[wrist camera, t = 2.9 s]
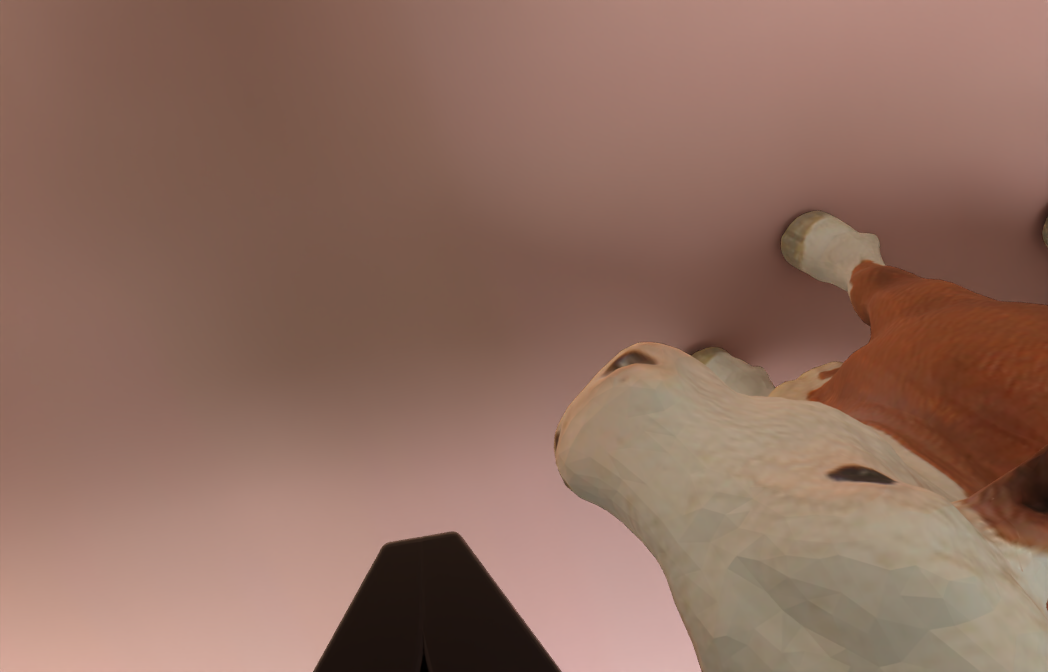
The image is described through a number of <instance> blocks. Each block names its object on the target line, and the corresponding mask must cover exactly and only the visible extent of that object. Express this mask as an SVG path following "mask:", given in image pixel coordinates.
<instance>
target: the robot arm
mask: <svg viewBox="0 0 1048 672" xmlns="http://www.w3.org/2000/svg"><path fill="white" fill-rule="evenodd" d="M313 672H562V671H561V670H560V669H559V667H558V666H557V665H556V663H555V662H554V661H553V659H552V658H551V657H550V655H549V654H548V653H547V651H546V650H545V648H544V647H543V646H542V644H541V643H540V642H539V640H538V639H537V638H536V636H535V635H534V634H533V632H532V631H531V630H530V628H529V627H528V626H527V624H526V623H525V621H524V620H523V619H522V617H521V616H520V615H519V613H518V612H517V611H516V609H515V608H514V607H513V605H512V604H511V603H510V601H509V600H508V598H507V597H506V596H505V594H504V593H503V592H502V590H501V589H500V588H499V586H498V585H497V584H496V582H495V581H494V580H493V578H492V577H491V575H490V574H489V573H488V571H487V570H486V569H485V567H484V566H483V565H482V563H481V562H480V561H479V559H478V558H477V557H476V555H475V554H474V553H473V551H472V550H471V548H470V547H469V546H468V544H467V543H466V542H465V540H464V539H463V538H462V536H461V535H460V534H458V533H457V532H446V533H440V534H434V535H428V536H423V537H417V538H411V539H405V540H399V541H393V542H389V543H386V544H385V545H384V546H383V547H382V548H381V550H380V552H379V554H378V555H377V557H376V559H375V561H374V563H373V564H372V566H371V568H370V570H369V572H368V573H367V575H366V577H365V579H364V581H363V582H362V584H361V586H360V588H359V590H358V592H357V593H356V595H355V597H354V599H353V601H352V602H351V604H350V606H349V608H348V610H347V611H346V613H345V615H344V617H343V619H342V620H341V622H340V624H339V626H338V628H337V629H336V631H335V633H334V635H333V637H332V639H331V640H330V642H329V644H328V646H327V648H326V649H325V651H324V653H323V655H322V657H321V658H320V660H319V662H318V664H317V666H316V667H315V669H314V671H313Z"/></svg>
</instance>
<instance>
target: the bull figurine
mask: <svg viewBox="0 0 1048 672" xmlns="http://www.w3.org/2000/svg"><path fill="white" fill-rule="evenodd" d="M1042 235H1043V240H1044V242H1045V245H1046V246H1047V247H1048V217H1047V219H1046V222H1045V225H1044V228H1043V231H1042ZM781 251H782V254H783V256H784V258H785V260H786V261H787V262H788V263H789V264H791V265H792V266H794V267H796V268H798V269H799V270H801V271H803V272H805V273H807V274H809V275H811V276H812V277H814V278H815V279H817V280H819V281H822V282H827V283H832V284H834V285H836V286H838V287H839V288H841V289H843V290H845V291H848V294H849V297H850V301H851V304H852V306H853V308H854V310H855V312H856V313H857V315H858V316H859V317H860V318H861V320H862V321H863V322H864V323H866V324H867V325H869V326H871V338H870V341H869V343H868V344H866V345H865V346H863V347H862V348H860V349H859V350H857V351H856V352H854V353H852V354H851V356H850V357H849V358H848V359H847V360H846V361H845V362H830V363H827V364H824V365H822V366H819V367H816V368H813V369H811V370H809V371H807V372H805V373H803V374H802V375H801V376H800V377H799V378H797V379H796V380H792V381H787V382H784V383H782V384H781V385H779V386H777V387H776V388H775V386H774V385H773V383H772V382H771V380H770V378H769V376H768V374H767V372H766V371H765V370H764V369H763V368H762V367H760V366H756V367H752V366H751V365H749V364H747V363H746V362H744V361H743V360H740V359H738V358H735V357H732V356H731V355H730V354H729V353H728V352H727V351H725V350H724V349H721V348H719V347H709V348H706V349H703V350H700V351H698V352H695V353H694V354H692V355H689V354H687V353H685V352H683V351H681V350H680V349H678V348H674V347H671V346H668V345H665V344H661V343H654V342H641V343H636V344H634V345H632V346H630V347H628V348H626V349H624V350H622V351H620V352H619V353H618V354H617V355H616V356H615V357H614V358H613V359H612V360H611V361H610V362H609V363H607V364H606V365H605V366H604V367H603V368H602V369H601V370H600V371H599V372H598V373H597V374H596V375H595V377H594V378H593V379H592V380H591V381H590V382H589V383H588V385H587V386H586V387H585V388H584V389H583V390H582V391H581V392H580V394H579V395H578V396H577V397H576V398H575V399H574V400H573V402H572V403H571V404H570V405H569V406H568V408H567V409H566V411H565V413H564V415H563V416H562V418H561V420H560V422H559V424H558V426H557V429H556V432H555V439H554V452H555V458H556V465H557V467H558V471H559V473H560V475H561V477H562V479H563V481H564V483H565V485H566V486H567V487H568V488H569V489H570V490H571V491H573V492H574V493H575V494H576V495H578V496H579V497H580V498H582V499H584V500H586V501H589V502H591V503H593V504H596V505H598V506H600V507H601V508H603V509H605V510H607V511H608V512H610V513H611V514H612V515H613V516H615V517H616V518H617V519H619V520H620V521H621V522H623V523H624V524H625V525H626V526H627V527H628V528H629V529H630V530H631V531H632V532H633V533H634V534H635V535H636V536H637V537H638V538H639V539H640V540H641V541H642V542H643V543H644V545H645V546H646V547H647V548H648V549H649V551H650V552H651V553H652V554H653V555H654V557H655V558H656V559H657V561H658V562H659V564H660V566H661V568H662V570H663V572H664V574H665V576H666V578H667V581H668V584H669V587H670V590H671V593H672V596H673V599H674V602H675V605H676V607H677V609H678V611H679V614H680V616H681V618H682V620H683V623H684V625H685V627H686V630H687V632H688V634H689V636H690V639H691V641H692V643H693V646H694V649H695V652H696V655H697V659H698V662H699V665H700V668H701V671H702V672H1048V305H1042V304H1033V303H1023V302H1004V301H997V300H994V299H992V298H989V297H986V296H983V295H980V294H977V293H974V292H972V291H970V290H968V289H966V288H963V287H961V286H959V285H957V284H955V283H951V282H948V281H944V280H938V279H925V278H921V277H919V276H917V275H915V274H913V273H910V272H907V271H905V270H902V269H899V268H897V267H892V266H886V265H885V264H884V262H883V260H882V257H881V254H880V242H879V239H878V237H877V236H876V235H875V234H871V233H859V232H857V231H856V230H855V229H853V228H852V227H850V226H849V225H848V224H846V223H844V222H843V221H841V220H839V219H838V218H836V217H834V216H832V215H830V214H828V213H826V212H822V211H811V212H808V213H805V214H803V215H801V216H799V217H797V218H796V219H795V220H794V221H793V222H792V223H791V224H790V225H789V227H788V228H787V230H786V231H785V233H784V234H783V236H782V238H781Z"/></svg>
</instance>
